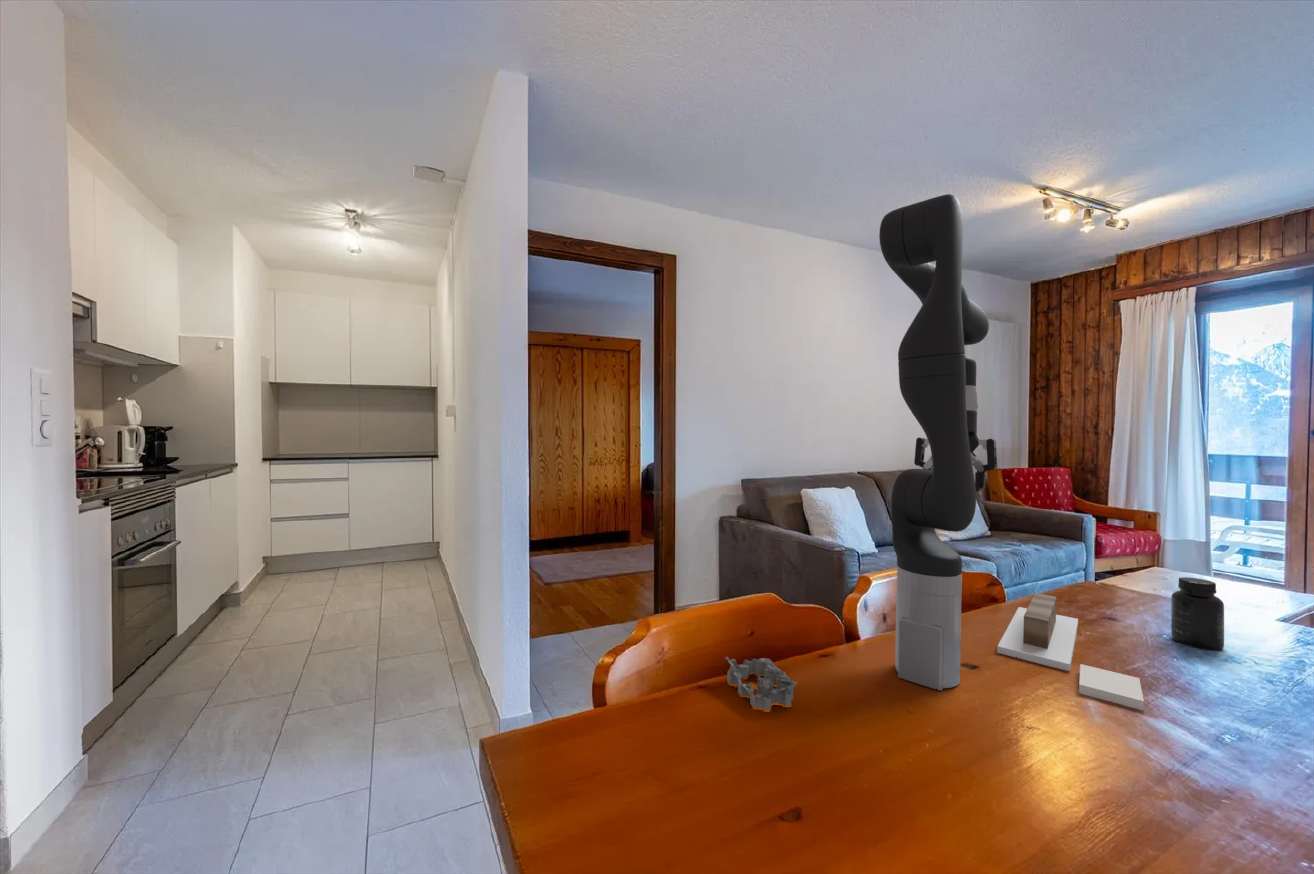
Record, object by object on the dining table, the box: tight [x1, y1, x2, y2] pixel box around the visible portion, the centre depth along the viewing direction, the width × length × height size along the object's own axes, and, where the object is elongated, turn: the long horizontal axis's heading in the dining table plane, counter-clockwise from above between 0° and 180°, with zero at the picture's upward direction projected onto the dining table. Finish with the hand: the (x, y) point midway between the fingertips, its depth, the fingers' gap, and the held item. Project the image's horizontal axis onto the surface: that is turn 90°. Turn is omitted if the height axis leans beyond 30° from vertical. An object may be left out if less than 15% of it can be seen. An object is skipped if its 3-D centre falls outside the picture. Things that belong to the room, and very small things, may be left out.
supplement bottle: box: [1170, 576, 1225, 651], centre depth 94 cm, size 7×7×12 cm
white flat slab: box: [1078, 663, 1145, 711], centre depth 76 cm, size 2×7×9 cm
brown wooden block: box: [1023, 592, 1057, 649], centre depth 95 cm, size 18×4×5 cm, turn 137°
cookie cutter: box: [724, 656, 799, 711], centre depth 74 cm, size 11×8×4 cm
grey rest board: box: [996, 606, 1079, 672], centre depth 95 cm, size 28×10×1 cm, turn 137°
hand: (953, 489), depth 100 cm, fingers open, 8 cm apart
